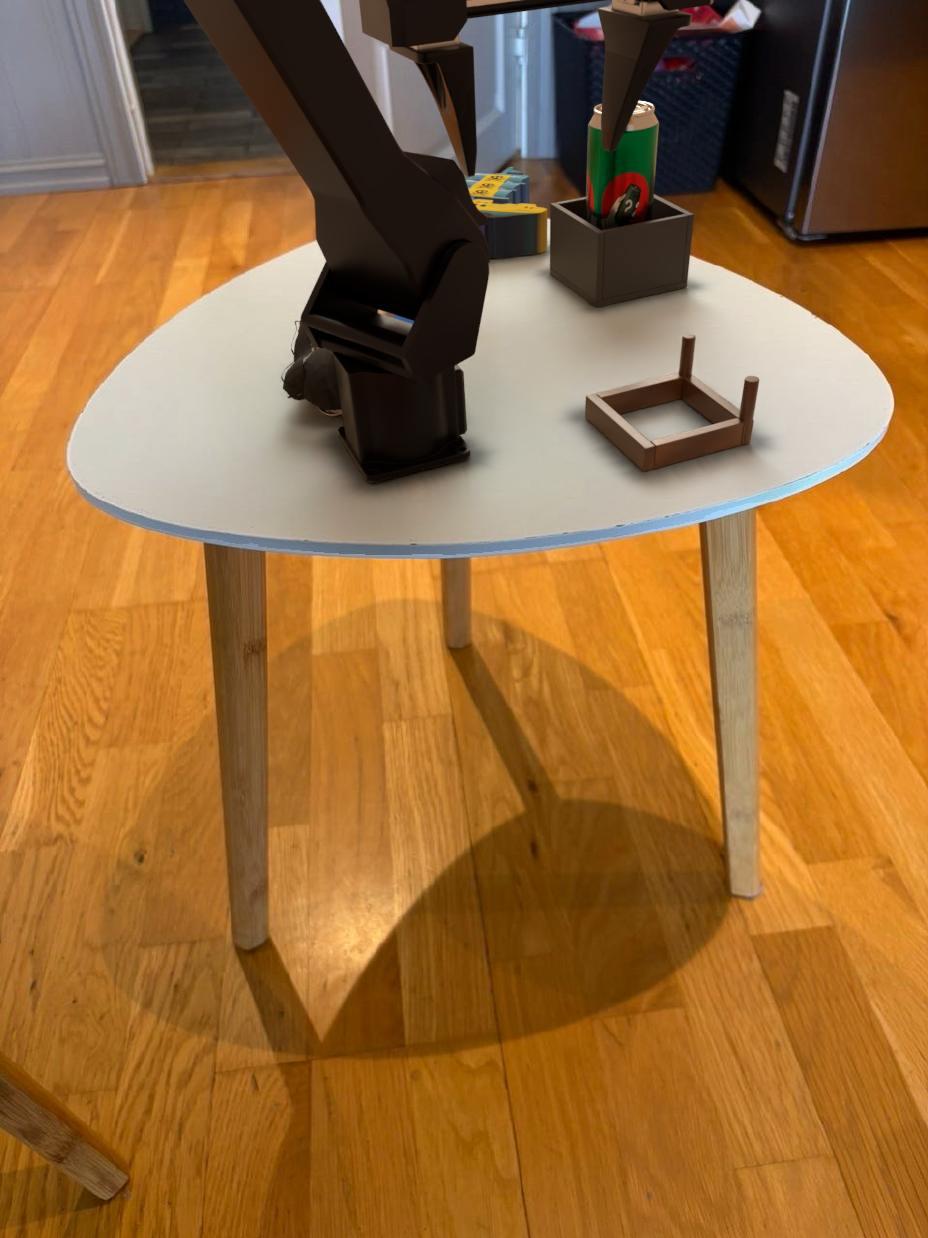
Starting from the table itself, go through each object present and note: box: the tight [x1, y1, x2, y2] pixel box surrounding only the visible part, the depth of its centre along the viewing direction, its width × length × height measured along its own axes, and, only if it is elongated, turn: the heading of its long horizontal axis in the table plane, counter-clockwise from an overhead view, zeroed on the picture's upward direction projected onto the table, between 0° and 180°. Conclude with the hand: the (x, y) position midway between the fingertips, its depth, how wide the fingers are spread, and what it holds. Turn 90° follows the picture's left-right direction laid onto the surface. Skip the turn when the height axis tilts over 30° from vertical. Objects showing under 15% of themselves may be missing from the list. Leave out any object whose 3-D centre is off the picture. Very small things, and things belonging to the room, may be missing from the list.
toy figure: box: [280, 310, 394, 417], centre depth 63 cm, size 7×6×15 cm
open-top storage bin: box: [549, 193, 695, 308], centre depth 74 cm, size 8×8×6 cm
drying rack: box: [584, 333, 760, 472], centre depth 56 cm, size 7×7×4 cm
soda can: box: [585, 100, 660, 231], centre depth 71 cm, size 5×5×12 cm
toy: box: [465, 166, 548, 259], centre depth 85 cm, size 16×3×15 cm
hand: (540, 162), depth 56 cm, fingers open, 9 cm apart
